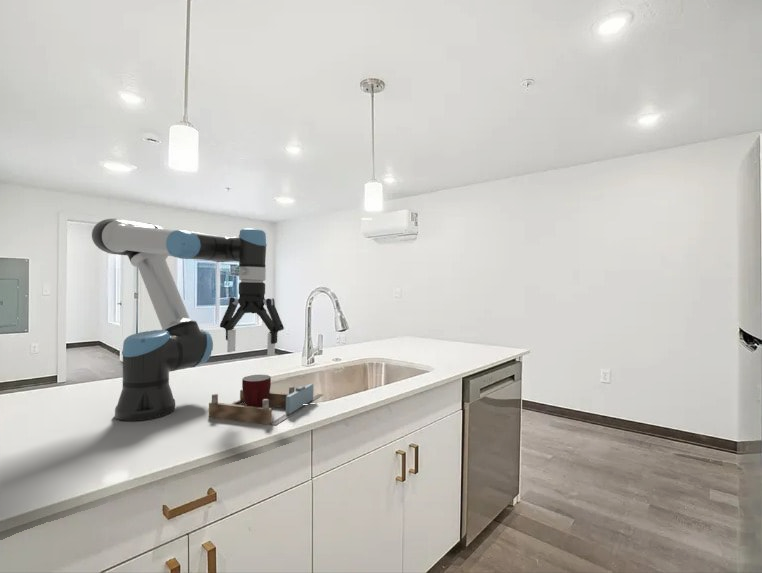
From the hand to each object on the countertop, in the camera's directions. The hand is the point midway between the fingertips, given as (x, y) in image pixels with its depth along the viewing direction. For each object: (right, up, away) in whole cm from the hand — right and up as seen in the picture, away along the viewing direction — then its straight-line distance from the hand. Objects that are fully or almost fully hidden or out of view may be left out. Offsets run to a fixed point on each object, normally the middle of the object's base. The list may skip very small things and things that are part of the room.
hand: (250, 353), depth 115 cm
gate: (+14, -17, +4) cm, 22 cm away
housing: (+4, -17, +6) cm, 19 cm away
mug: (+2, -18, -1) cm, 18 cm away
